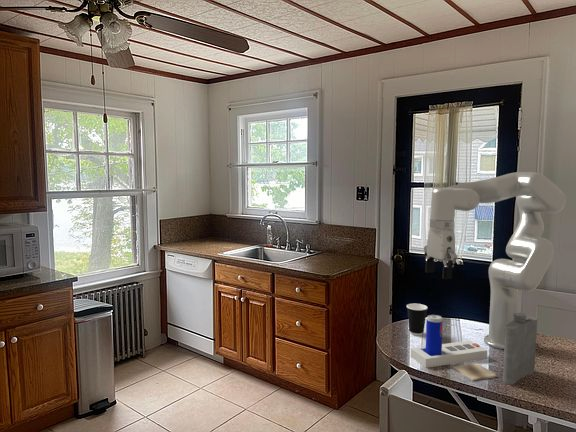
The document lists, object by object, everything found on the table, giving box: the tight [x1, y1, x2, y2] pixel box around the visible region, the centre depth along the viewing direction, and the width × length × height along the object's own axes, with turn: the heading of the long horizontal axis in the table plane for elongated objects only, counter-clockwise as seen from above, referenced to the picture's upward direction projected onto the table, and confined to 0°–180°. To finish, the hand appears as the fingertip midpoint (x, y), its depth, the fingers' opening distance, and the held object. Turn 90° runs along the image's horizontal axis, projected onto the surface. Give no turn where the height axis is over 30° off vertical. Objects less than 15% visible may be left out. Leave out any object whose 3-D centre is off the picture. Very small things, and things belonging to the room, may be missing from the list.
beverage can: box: [425, 314, 444, 356], centre depth 149 cm, size 5×5×15 cm
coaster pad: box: [453, 362, 498, 382], centre depth 141 cm, size 9×9×1 cm
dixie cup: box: [406, 303, 429, 337], centre depth 174 cm, size 8×8×11 cm
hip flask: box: [502, 312, 538, 386], centre depth 137 cm, size 16×4×20 cm, turn 127°
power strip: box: [410, 340, 488, 369], centre depth 152 cm, size 24×9×4 cm, turn 106°
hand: (438, 275), depth 149 cm, fingers open, 9 cm apart
